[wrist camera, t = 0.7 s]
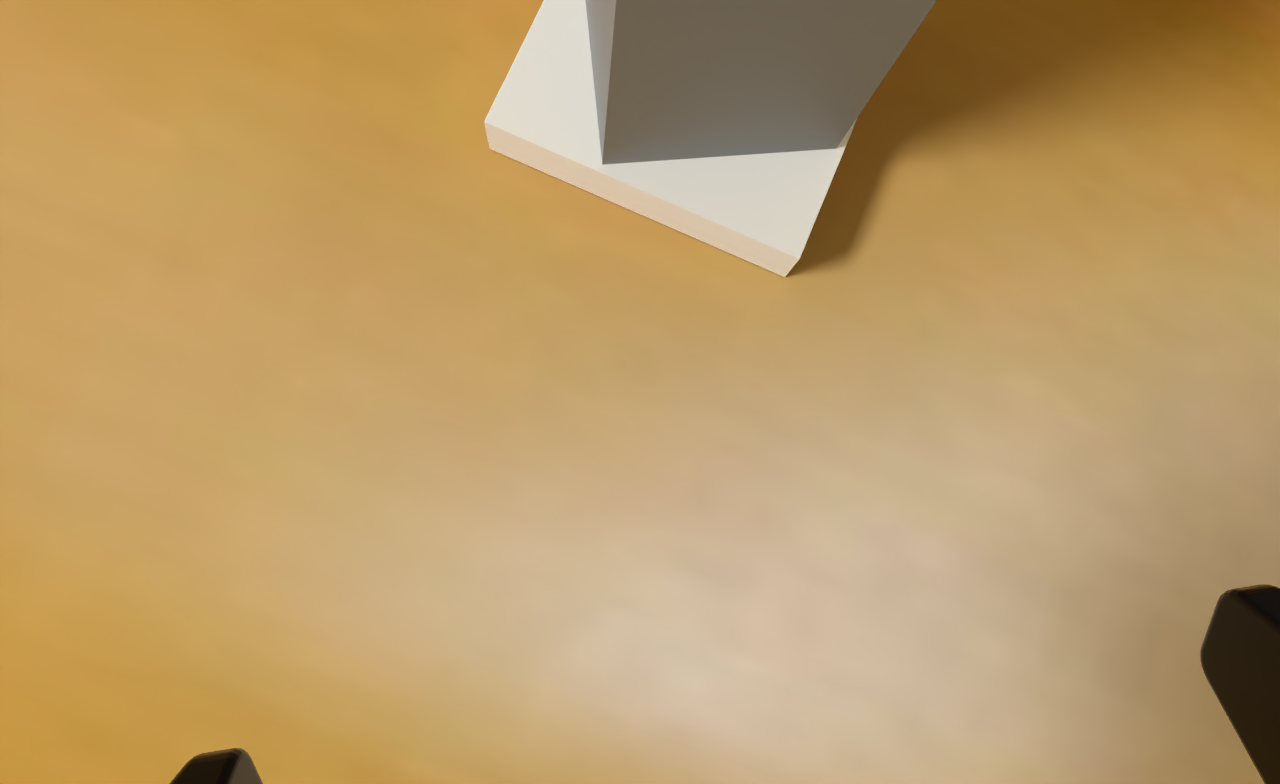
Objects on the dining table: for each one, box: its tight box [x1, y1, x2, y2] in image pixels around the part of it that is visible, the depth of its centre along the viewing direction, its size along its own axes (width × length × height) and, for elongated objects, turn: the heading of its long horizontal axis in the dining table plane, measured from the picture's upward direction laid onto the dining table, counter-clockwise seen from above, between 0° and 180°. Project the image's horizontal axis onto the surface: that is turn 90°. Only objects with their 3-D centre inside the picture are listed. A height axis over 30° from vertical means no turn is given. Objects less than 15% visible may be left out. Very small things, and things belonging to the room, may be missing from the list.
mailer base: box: [484, 0, 858, 277], centre depth 21 cm, size 8×8×5 cm
